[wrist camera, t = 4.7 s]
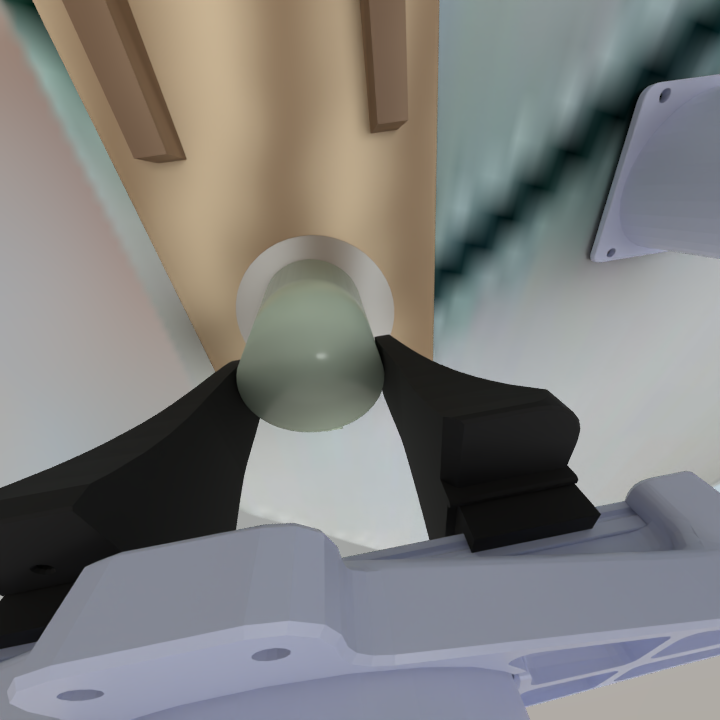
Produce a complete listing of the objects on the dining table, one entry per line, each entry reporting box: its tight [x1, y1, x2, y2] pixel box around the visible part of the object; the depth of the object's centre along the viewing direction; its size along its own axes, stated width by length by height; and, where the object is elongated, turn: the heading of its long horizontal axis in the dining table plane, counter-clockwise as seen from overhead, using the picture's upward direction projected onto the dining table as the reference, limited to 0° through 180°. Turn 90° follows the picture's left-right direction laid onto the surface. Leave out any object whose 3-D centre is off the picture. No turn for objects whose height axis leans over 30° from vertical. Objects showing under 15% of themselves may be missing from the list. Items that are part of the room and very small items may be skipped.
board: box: [33, 0, 439, 372], centre depth 13 cm, size 14×22×3 cm, turn 8°
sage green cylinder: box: [236, 259, 384, 432], centre depth 13 cm, size 5×8×6 cm, turn 7°
